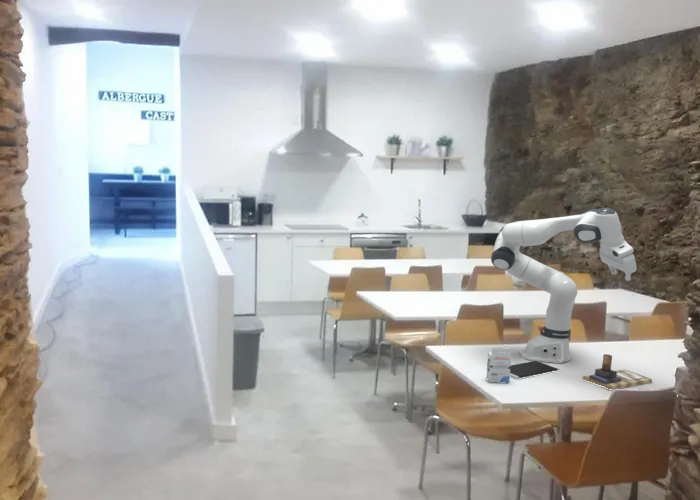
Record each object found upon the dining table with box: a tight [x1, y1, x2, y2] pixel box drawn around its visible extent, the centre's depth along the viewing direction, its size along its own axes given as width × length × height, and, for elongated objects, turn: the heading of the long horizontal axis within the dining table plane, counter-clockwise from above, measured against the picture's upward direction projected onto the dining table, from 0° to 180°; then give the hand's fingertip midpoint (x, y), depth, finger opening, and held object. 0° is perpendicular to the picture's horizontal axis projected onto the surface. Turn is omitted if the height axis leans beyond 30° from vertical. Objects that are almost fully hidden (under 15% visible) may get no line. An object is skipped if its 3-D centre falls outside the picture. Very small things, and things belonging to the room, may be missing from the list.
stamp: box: [594, 353, 617, 380], centre depth 288 cm, size 6×6×9 cm
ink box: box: [485, 347, 512, 383], centre depth 284 cm, size 8×5×15 cm, turn 96°
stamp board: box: [581, 369, 653, 390], centre depth 293 cm, size 26×14×3 cm, turn 119°
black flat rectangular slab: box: [510, 360, 560, 380], centre depth 301 cm, size 13×27×2 cm, turn 125°
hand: (621, 276), depth 283 cm, fingers open, 8 cm apart
